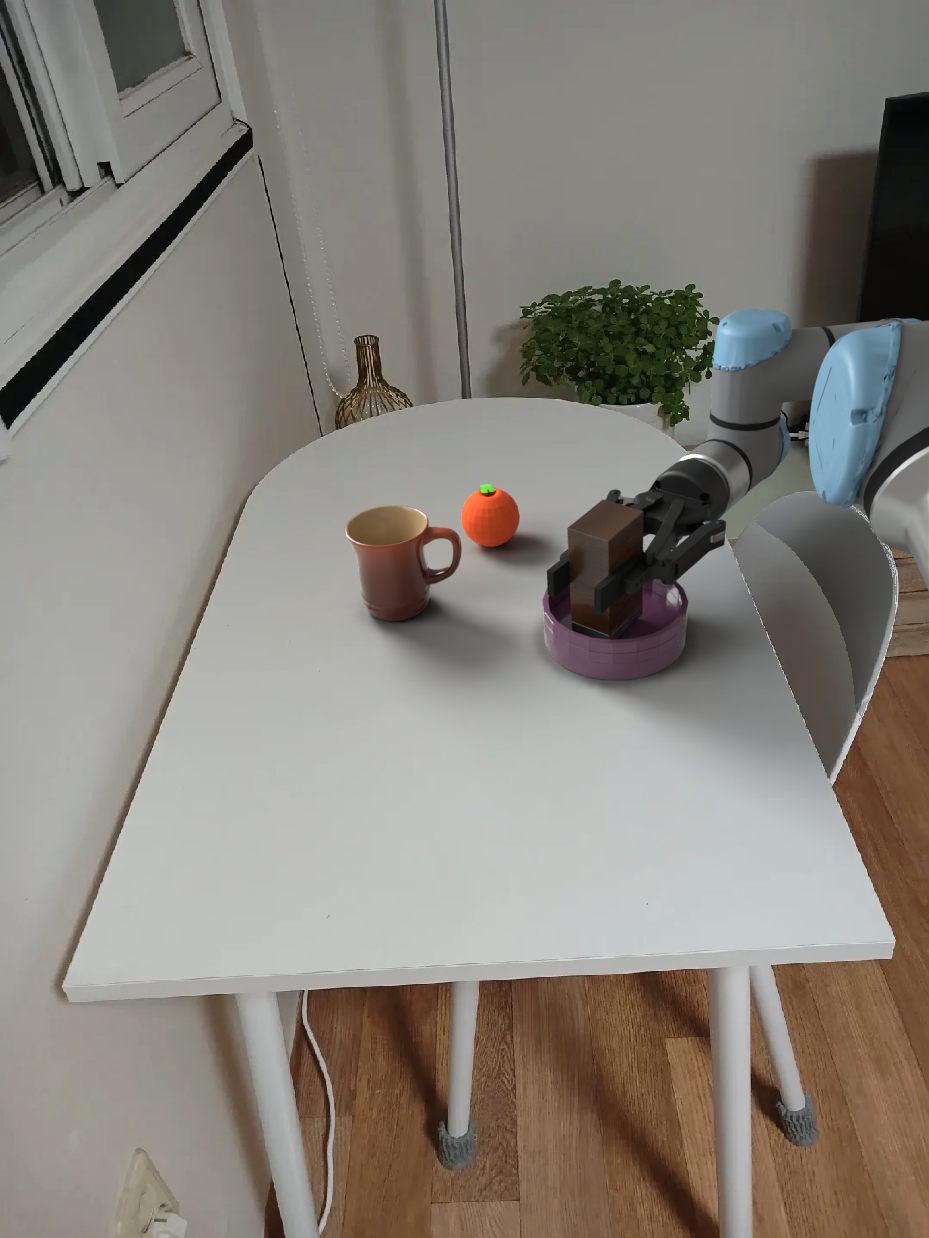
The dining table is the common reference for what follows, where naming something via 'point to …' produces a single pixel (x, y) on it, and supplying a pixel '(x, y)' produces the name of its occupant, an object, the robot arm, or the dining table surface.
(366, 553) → the mug
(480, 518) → the clementine
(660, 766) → the dining table surface
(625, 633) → the bowl
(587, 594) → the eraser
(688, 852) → the dining table surface
